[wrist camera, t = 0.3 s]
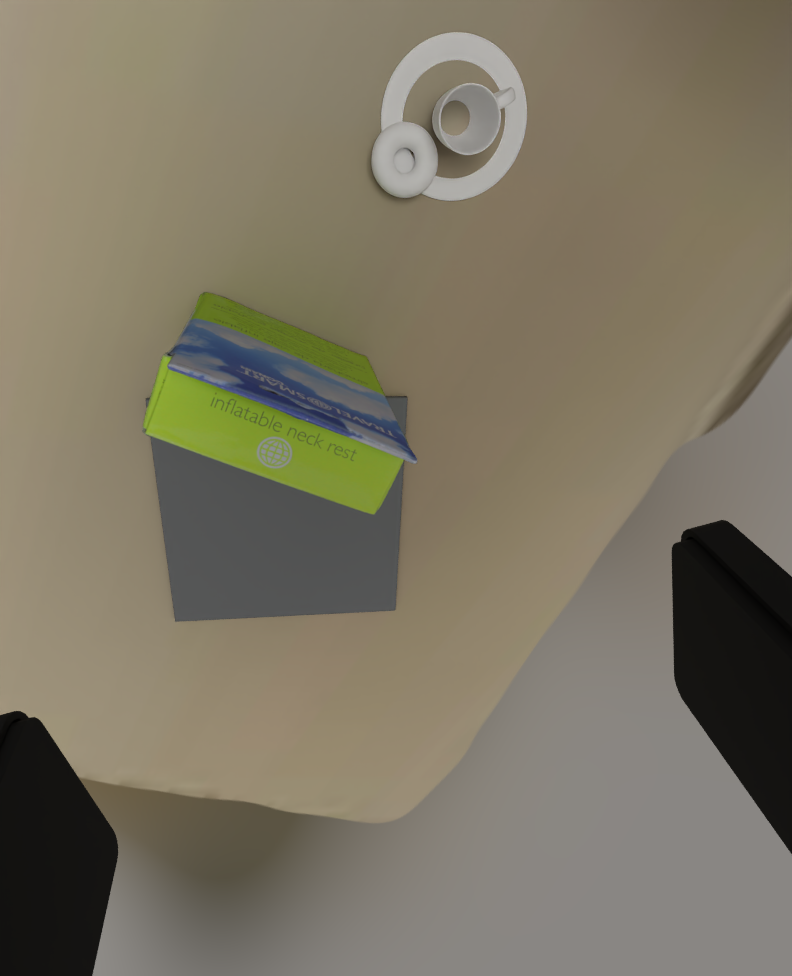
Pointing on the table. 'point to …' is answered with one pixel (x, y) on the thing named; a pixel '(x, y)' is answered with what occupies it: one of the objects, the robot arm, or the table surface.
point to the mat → (271, 542)
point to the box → (277, 406)
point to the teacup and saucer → (397, 137)
